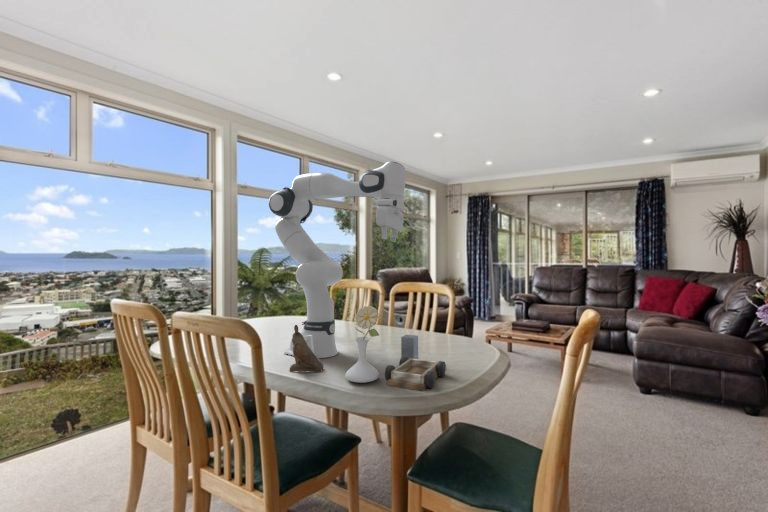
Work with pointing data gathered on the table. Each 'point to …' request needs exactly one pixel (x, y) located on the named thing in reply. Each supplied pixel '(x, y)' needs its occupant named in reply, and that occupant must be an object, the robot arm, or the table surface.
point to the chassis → (414, 373)
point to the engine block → (409, 346)
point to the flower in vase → (364, 347)
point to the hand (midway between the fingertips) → (388, 240)
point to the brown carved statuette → (303, 355)
